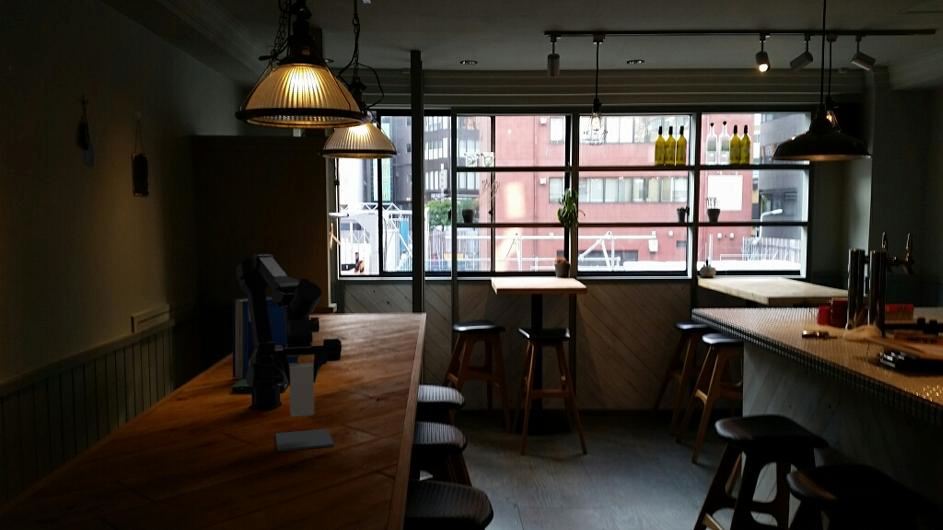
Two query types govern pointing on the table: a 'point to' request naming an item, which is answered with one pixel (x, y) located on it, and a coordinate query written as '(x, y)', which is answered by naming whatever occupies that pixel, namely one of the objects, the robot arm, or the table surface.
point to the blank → (301, 389)
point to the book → (244, 334)
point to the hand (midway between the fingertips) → (301, 383)
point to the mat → (303, 440)
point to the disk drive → (243, 388)
